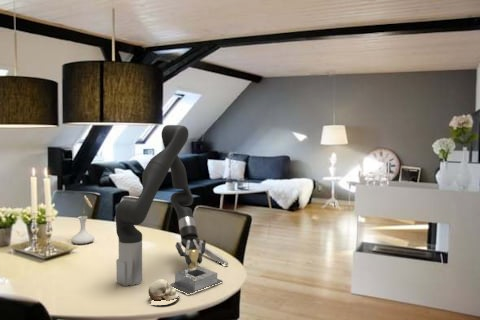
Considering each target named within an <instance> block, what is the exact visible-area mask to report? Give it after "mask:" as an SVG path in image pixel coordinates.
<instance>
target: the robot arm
mask: <svg viewBox="0 0 480 320" xmlns="http://www.w3.org/2000/svg"><path fill="white" fill-rule="evenodd" d="M188 139H189V130H188V128H187V127H186V126H185V125H182V124H181V125H177V124H168V125H165V126H164V127H163V128H162V130H161V140H162V144H163V147H164V148H163V149H162V150H161V151H159V152H158V153H156V155H154V156H153V157H152V158H150V160H149V161H148V162H147V165H146V166H145V168H144V169H143V171H142V175H141V179H142V180H141V181H142V190H141V193H140V195H139V196H138V198H137V200H129V199H128V200H127V199H126V200H125V199H124V200H122V201H120V202H119V203H118V205H117V206H116V209H115V225H116V226H115V227H116V235H117V237H118V258H117V259H116V283H118V284H119V285H121V286H123V287H127V286H128V285H131V286H136V285H138V283H139V284H141V283H142V282H143V233H142V232H141V231H140V230H139V229H137V227H136V226H139V225H141V224H142V223H143V222H144V221H145V220H146V217H147V215H148V214H149V211H150V209H151V206H152V204H153V202H154V200H155V197H156V195H157V193H158V192H159V188H160V187H161V185H162V183H163V182H164V180H165V178H166V176H167V175H168V173H169V171H170V172H171V173H170V174H171V181H172V186H173V187H172V188H174V189H177V190H183V191H177V192H174V193H172V194H171V195H170V203H171V205H172V207H173V208H174V210H175V213H176V215H177V221H178V230H179V233H180V235H179V236H180V239H181V241H180V242H179V241H178V242H176V243H175V249H176V250H177V252H178V255H179V256H180V257H184V260H185V263H186V264H187V266H188V265H190V259H189V255H188V250H189V249H191V248H197V249H199V246H198V244H199V243H200V245H201V246H202V249H201V251H200V249H199V260H198V265H200V264H201V263H202V262H203V256H202V255H205V254H204V252H205V247H206V243H207V241H206V239H203V240H201V239H200V238H199V235H198V230H197V226H196V221H195V219H194V214H193V210H192V208H191V207H188V206H191V205H192V204H193V203H194V196H193V193H192V192H191V189H190V187H189V184H188V183H189V182H188V178H187V177H188V175H187V171H186V167H185V165H184V163H183V162H182V160H181V158H180V156H179V154H180V152H181V150H182V149H183V148H184V147H185V146H186V143H187V142H188ZM199 239H200V240H199ZM182 247H183V248H184V250H183V248H182ZM141 281H142V282H141ZM140 282H141V283H140ZM135 284H136V285H135ZM128 287H129V286H128Z"/></svg>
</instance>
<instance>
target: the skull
mask: <svg viewBox="0 0 480 320" xmlns="http://www.w3.org/2000/svg"><path fill="white" fill-rule="evenodd" d="M171 284H172V283H169V282H168V280H166V279H164V278H160V279H157V280H155V281H154V282H152V283H151V284H150V285H149V286H148V297H149V296H150V297H149V299H150V300H151V299H152V300H154V301H161V300H166V301H170V300H174V299H177V300H176V301H175V303H176V302H178V301H179V299H180V295H179V294H178V293H177V290H175V289H174V288H173V287H172V286H171ZM178 295H179V296H178ZM178 297H179V298H178ZM175 303H174V302H173V304H175Z"/></svg>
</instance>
